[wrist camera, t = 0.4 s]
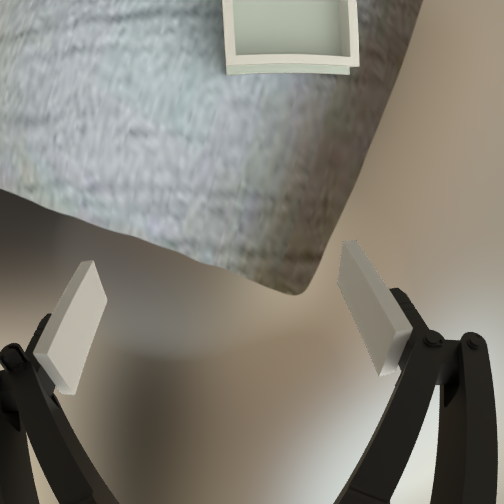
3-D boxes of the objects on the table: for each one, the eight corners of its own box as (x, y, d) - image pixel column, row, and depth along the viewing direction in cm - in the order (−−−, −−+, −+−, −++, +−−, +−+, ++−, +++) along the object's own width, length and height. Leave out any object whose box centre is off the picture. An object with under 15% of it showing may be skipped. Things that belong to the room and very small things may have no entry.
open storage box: (219, -41, 27) (218, -64, 20) (329, -38, 27) (350, -57, 21) (226, 75, 36) (226, 74, 29) (335, 74, 36) (359, 75, 29)
